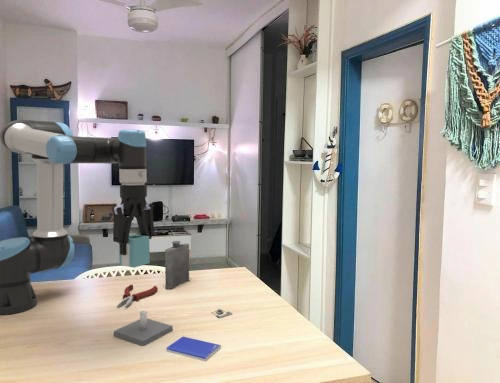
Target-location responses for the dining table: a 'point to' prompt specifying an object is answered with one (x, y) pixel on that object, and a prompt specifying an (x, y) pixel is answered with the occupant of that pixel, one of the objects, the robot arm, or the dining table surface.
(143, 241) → the block with square hole
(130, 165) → the robot arm
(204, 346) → the hard drive
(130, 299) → the pliers
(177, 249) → the flask
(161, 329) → the pin base
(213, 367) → the dining table surface
